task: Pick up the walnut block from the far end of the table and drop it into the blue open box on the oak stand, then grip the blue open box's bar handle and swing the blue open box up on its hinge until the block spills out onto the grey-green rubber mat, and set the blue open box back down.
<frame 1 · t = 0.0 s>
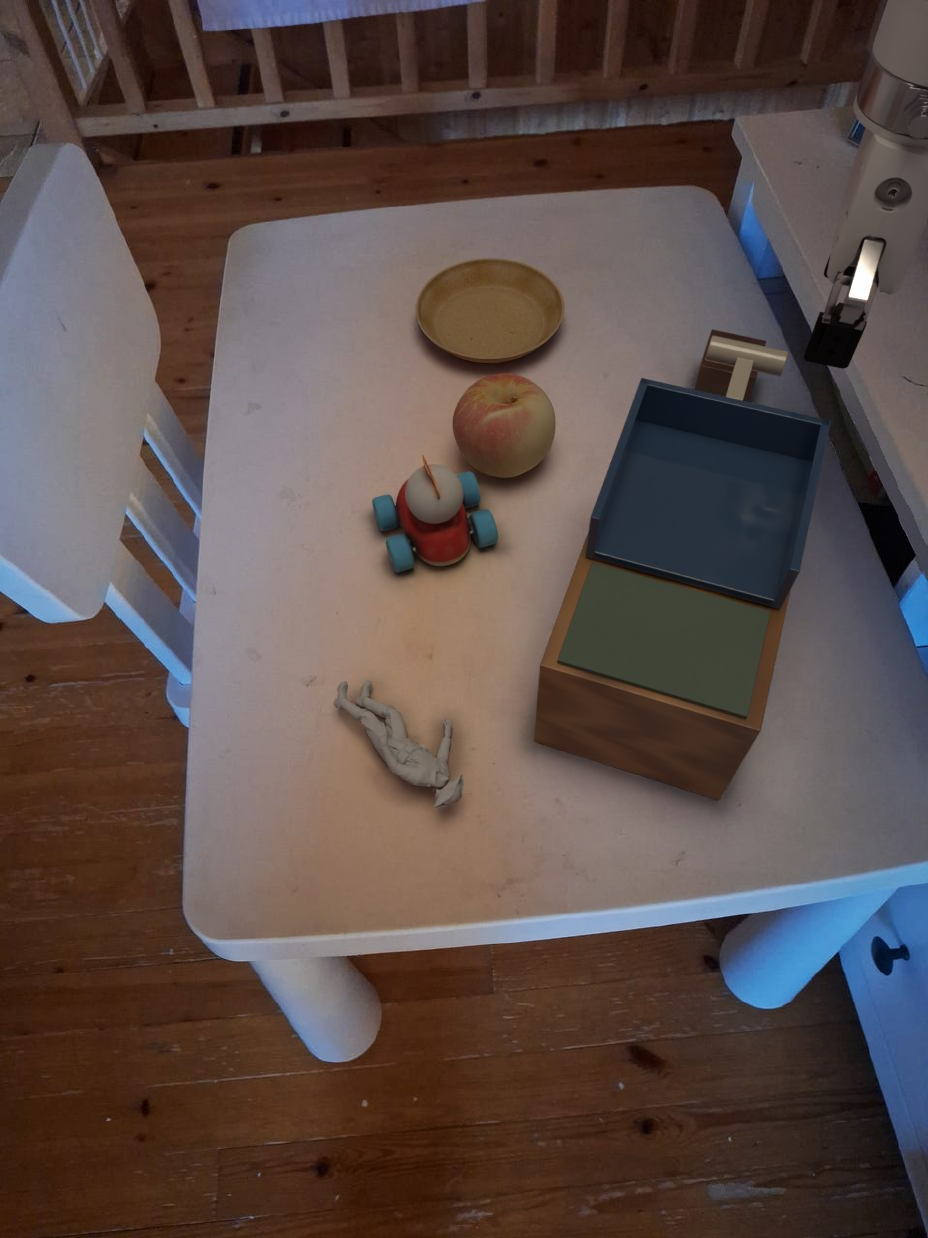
hand: (834, 319, 68), 15 cm above the table, tool pointing down, fingers open, 9 cm apart
mat: (664, 638, 58), resting on stand
soldier figure: (402, 752, 68), on the table
apple: (505, 458, 83), on the table
toy car: (435, 532, 78), on the table
block: (721, 393, 86), on the table
plant saucer: (490, 328, 92), on the table
stand: (661, 642, 72), on the table
blue open box: (717, 455, 63), point 15 cm above the table, hinge at -0.1°
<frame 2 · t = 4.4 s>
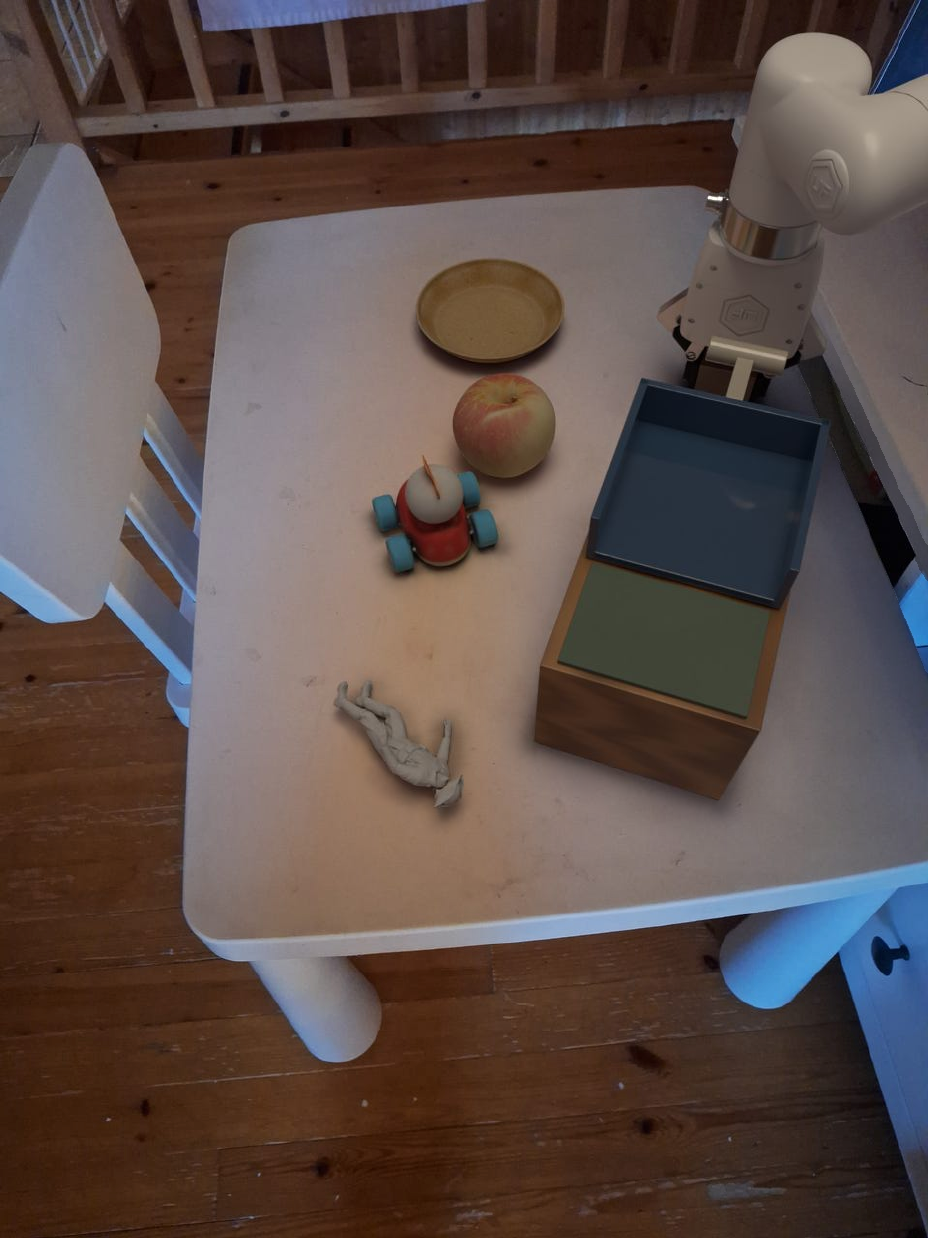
hand: (722, 390, 85), 0 cm above the table, tool pointing down, fingers closed on block, 5 cm apart
block: (721, 393, 86), on the table, touching gripper
everything else where it was.
when the fingers open (14 cm above the table, at t = 10.8 s): block stays where it is, resting on blue open box.
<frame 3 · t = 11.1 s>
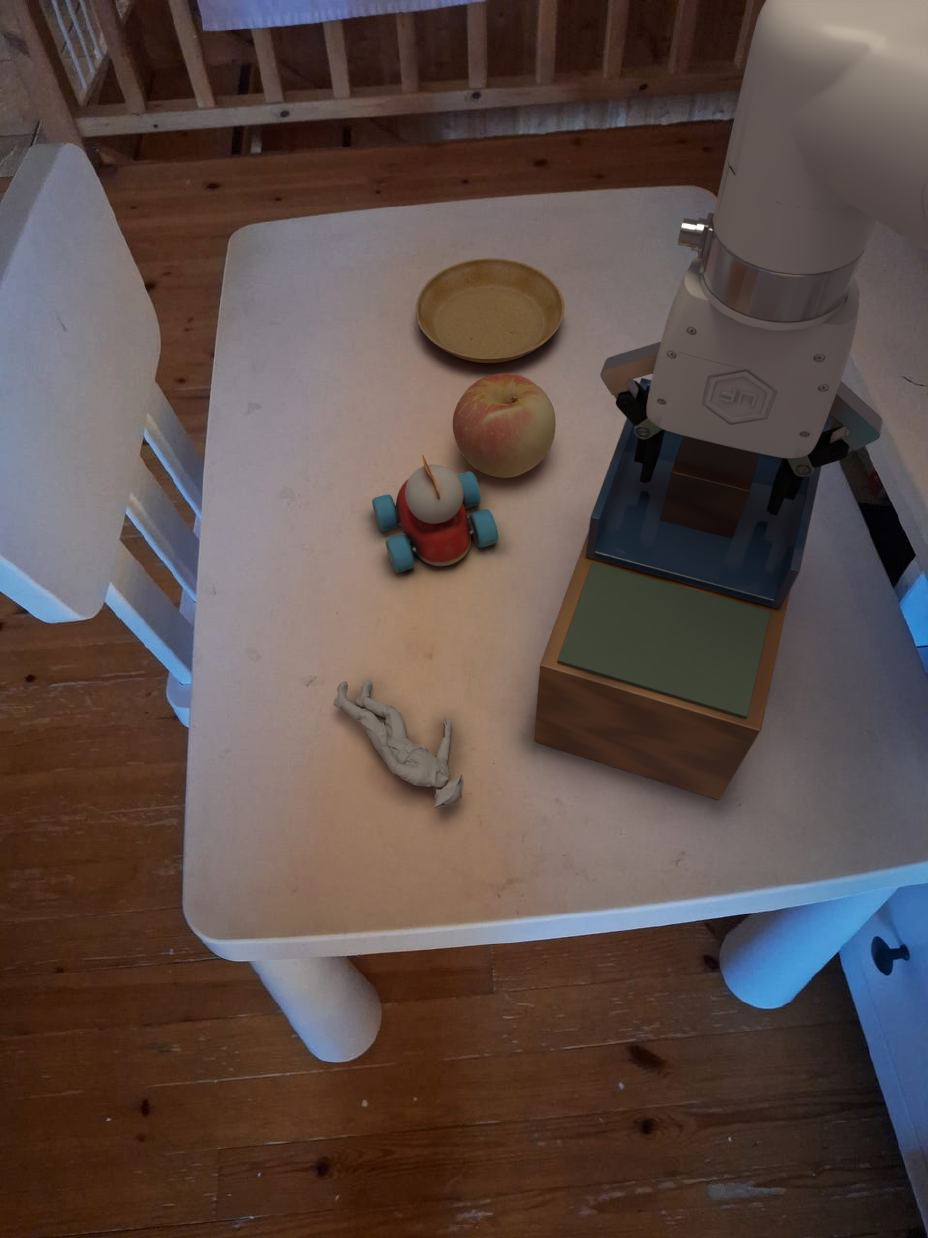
hand: (711, 482, 61), 15 cm above the table, tool pointing down, fingers open, 8 cm apart
block: (703, 502, 63), point 13 cm above the table, touching blue open box
blue open box: (717, 455, 63), point 15 cm above the table, hinge at -0.1°, touching block
everything else where it was.
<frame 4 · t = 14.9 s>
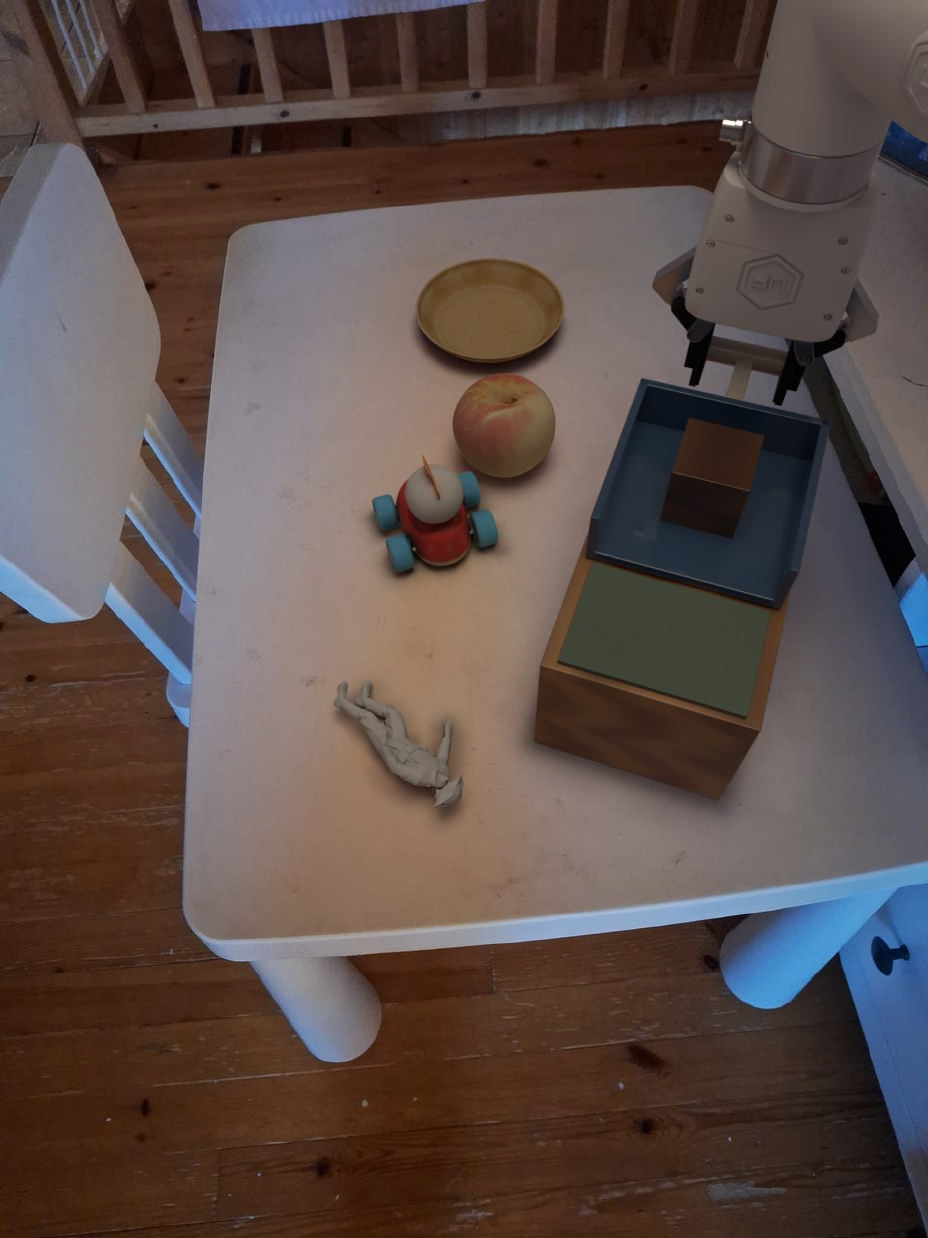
hand: (738, 381, 68), 14 cm above the table, tool pointing down, fingers closed on blue open box, 5 cm apart
blue open box: (717, 455, 63), point 15 cm above the table, hinge at -0.1°, touching block, gripper
everything else where it was.
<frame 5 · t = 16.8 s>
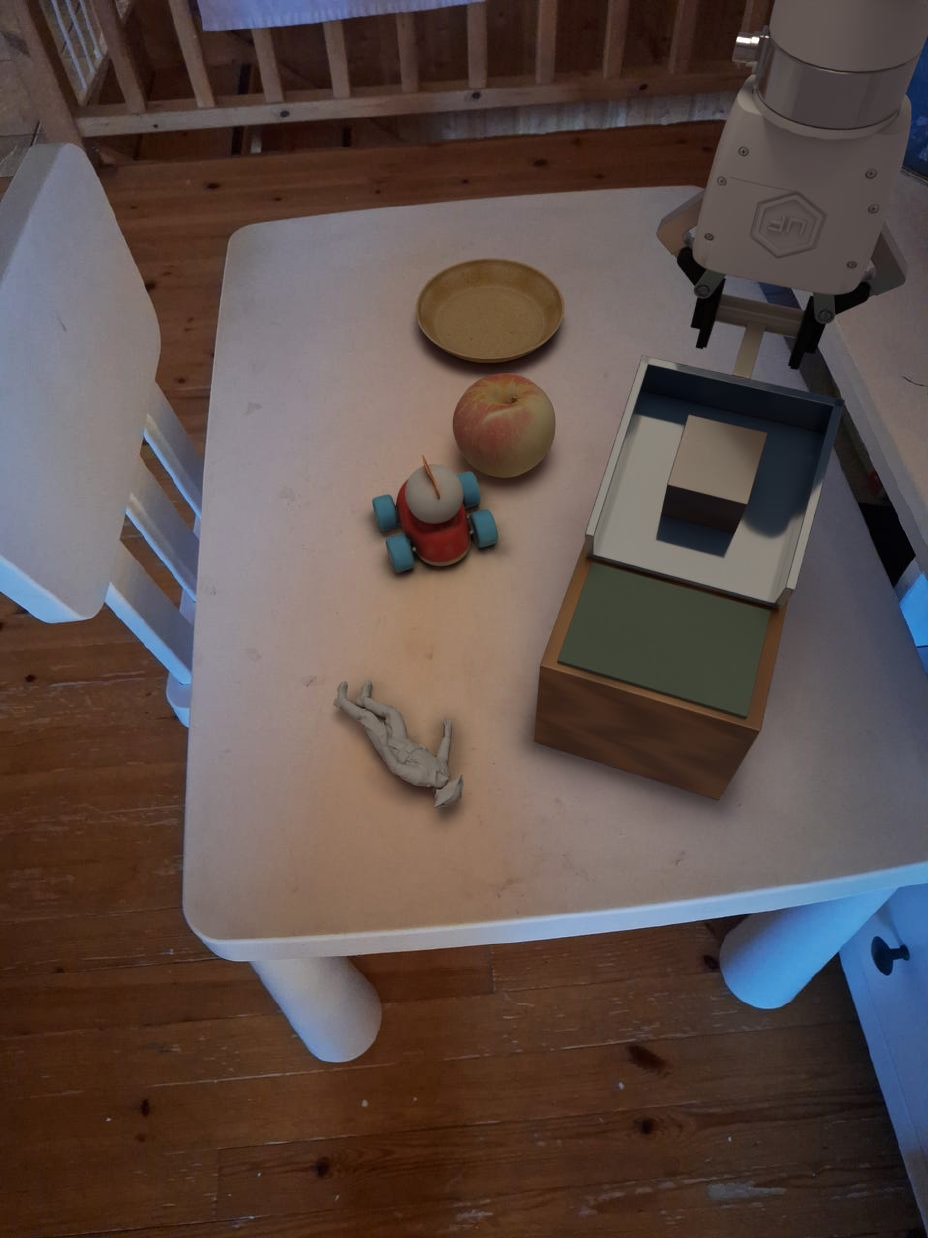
hand: (750, 343, 62), 19 cm above the table, tool pointing down, fingers closed on blue open box, 5 cm apart
block: (707, 490, 61), point 15 cm above the table, tilted 17°, touching blue open box
blue open box: (722, 440, 60), point 17 cm above the table, hinge at 17.1°, touching block, gripper
everything else where it was.
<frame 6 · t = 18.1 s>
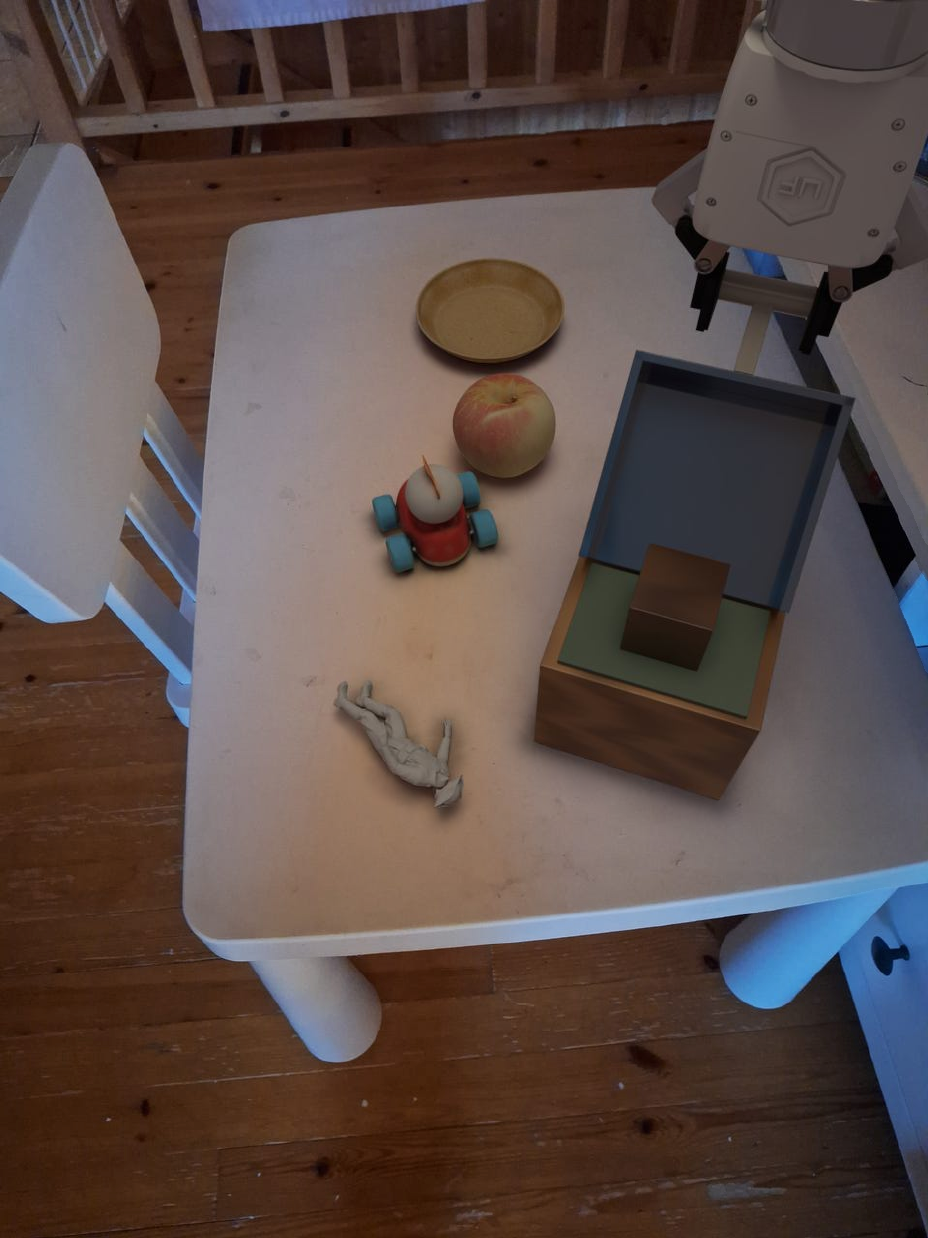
hand: (756, 325, 55), 24 cm above the table, tool pointing down, fingers closed on blue open box, 5 cm apart
block: (682, 576, 57), point 15 cm above the table, tilted 90°, touching mat
blue open box: (723, 437, 57), point 20 cm above the table, hinge at 36.2°, touching gripper
everything else where it was.
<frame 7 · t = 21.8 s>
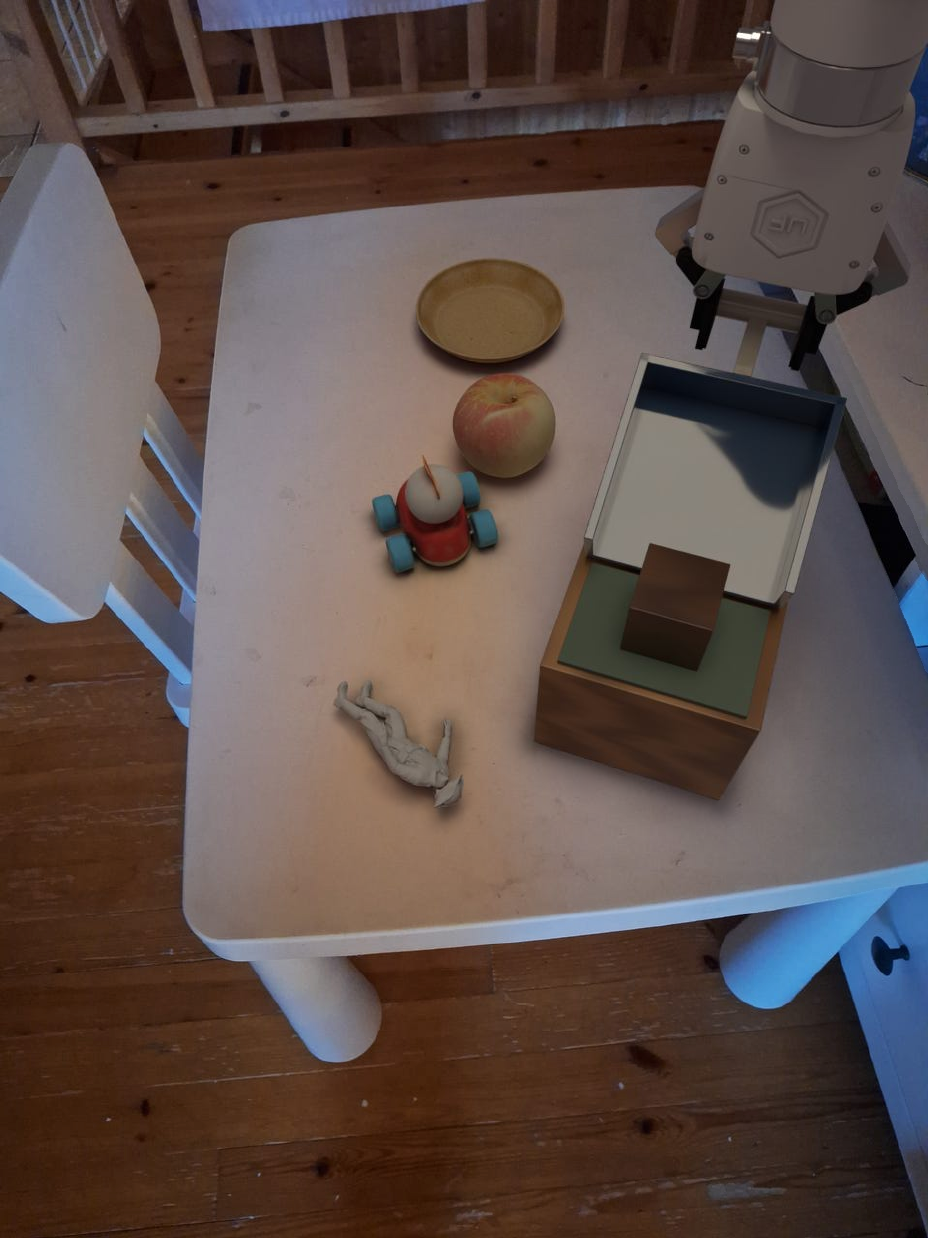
hand: (750, 344, 61), 20 cm above the table, tool pointing down, fingers closed on blue open box, 5 cm apart
blue open box: (722, 438, 59), point 18 cm above the table, hinge at 20.1°, touching gripper
everything else where it was.
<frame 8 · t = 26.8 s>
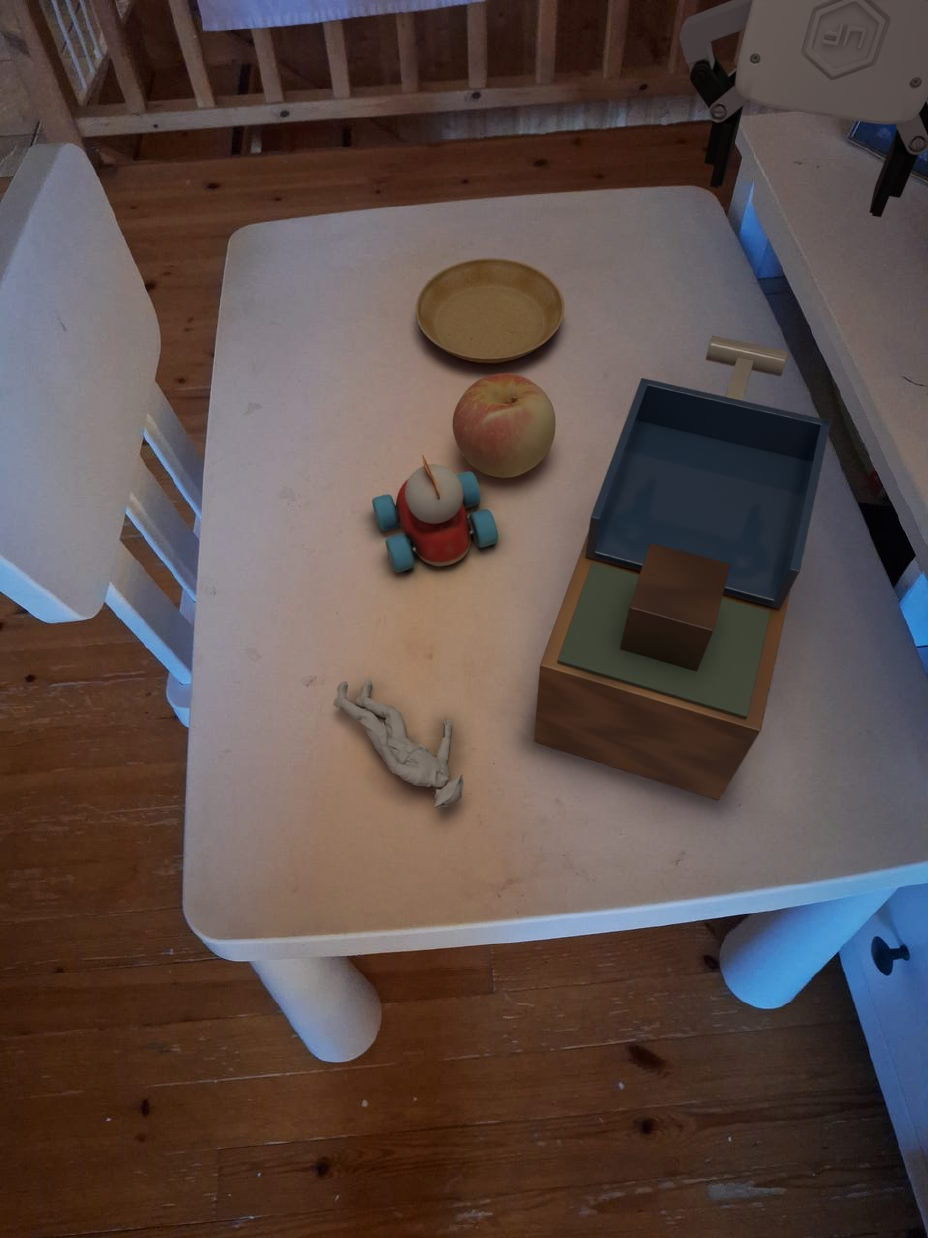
hand: (797, 188, 56), 28 cm above the table, tool pointing down, fingers open, 9 cm apart
blue open box: (717, 455, 63), point 15 cm above the table, hinge at -0.1°
everything else where it was.
at the end: blue open box reached +42° during the clip, +0° at the end; block inside the target area on the mat (3.0 cm from its centre), point 2.9 cm above the mat's base; block touching mat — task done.
